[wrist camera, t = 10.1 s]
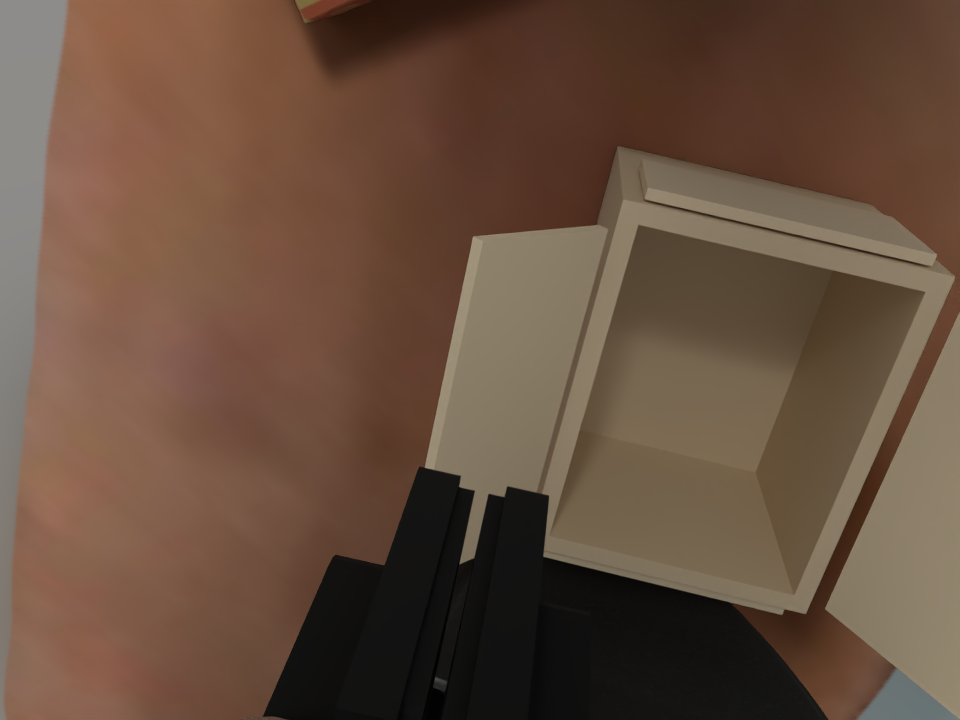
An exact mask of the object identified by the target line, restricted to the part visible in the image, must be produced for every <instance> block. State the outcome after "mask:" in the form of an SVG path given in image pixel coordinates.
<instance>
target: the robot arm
mask: <svg viewBox="0 0 960 720" xmlns="http://www.w3.org/2000/svg"><path fill="white" fill-rule="evenodd" d="M460 480H461V476H460V475H455V474H451V473H446V472H442V471H437V470H433V469H428V468H424V467H419V469H418V471H417V474H416V477H415V480H414V483H413V486H412V489H411V491H410V494H409V497H408V500H407V503H406V506H405V509H404V512H403V514H402V517H401V520H400V523H399V526H398V529H397V532H396V535H395V537H394V540H393V543H392V546H391V549H390V552H389V555H388V558H387V561H386V563H385V566H383V565H379V564H374V563H370V562H366V561H361V560H357V559H352V558H348V557H343V556H339V555H335V556H334V557H333V558H332V560H331V562H330V564H329V566H328V568H327V570H326V573H325V575H324V577H323V580H322V582H321V584H320V587H319V589H318V591H317V593H316V596H315V598H314V600H313V603H312V605H311V607H310V610H309V612H308V614H307V616H306V619H305V621H304V623H303V626H302V628H301V630H300V632H299V635H298V637H297V639H296V642H295V644H294V646H293V649H292V651H291V653H290V655H289V658H288V660H287V662H286V665H285V667H284V669H283V672H282V674H281V676H280V678H279V681H278V683H277V685H276V688H275V690H274V692H273V694H272V697H271V699H270V701H269V704H268V706H267V708H266V711H265V713H264V715H263V717H248V718H245V719H241V720H426V716H427V712H428V707H429V703H430V699H431V694H432V690H433V685H434V681H435V677H436V672H437V668H438V663H439V658H440V654H441V649H442V645H443V640H444V635H445V630H446V626H447V621H448V616H449V611H450V607H451V602H452V597H453V593H454V588H455V583H456V578H457V574H458V569H459V564H460V560H461V555H462V550H463V545H464V541H465V536H466V531H467V526H468V522H469V517H470V512H471V508H472V503H473V498H474V493H475V491H474V490H470V489H465V488H461V487H459V485H460ZM548 505H549V495H545V494H541V493H536V492H532V491H527V490H523V489H518V488H514V487H509V486H507V489H506V493H505V497H501V496H497V495H492V494H488V498H487V502H486V507H485V511H484V516H483V521H482V525H481V530H480V534H479V539H478V543H477V548H476V552H475V557H474V562H473V566H472V571H471V575H470V580H469V584H468V589H467V593H466V598H465V602H464V607H463V612H462V616H461V621H460V625H459V630H458V634H457V639H456V643H455V648H454V652H453V657H452V662H451V666H450V671H449V676H448V680H447V685H446V690H445V695H444V699H443V704H442V709H441V714H440V718H439V720H589V711H590V661H591V615H590V612H587V611H583V610H578V609H574V608H570V607H565V606H561V605H556V604H552V603H547V602H543V601H539V596H540V586H541V576H542V566H543V556H544V546H545V536H546V526H547V515H548Z"/></svg>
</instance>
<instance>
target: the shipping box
mask: <svg viewBox="0 0 960 720" xmlns="http://www.w3.org/2000/svg"><path fill="white" fill-rule="evenodd" d="M596 225H600V226H602V227H605V228H607V229H608V232H607V236H606V239H605V243H604V247H603V250H602V254H601V258H600V261H599V265H598V269H597V272H596V276H595V280H594V283H593V287H592V291H591V294H590V298H589V302H588V305H587V309H586V313H585V316H584V320H583V324H582V327H581V331H580V335H579V338H578V342H577V346H576V349H575V353H574V357H573V360H572V364H571V368H570V371H569V375H568V379H567V382H566V386H565V390H564V393H563V397H562V401H561V404H560V408H559V412H558V415H557V419H556V423H555V426H554V430H553V434H552V438H551V441H550V445H549V449H548V452H547V456H546V460H545V463H544V467H543V471H542V474H541V478H540V482H539V485H538V489H537V493H541V494H545V495H549V505H548V515H547V526H546V536H545V546H544V556H543V557H547V558H551V559H555V560H559V561H563V562H567V563H571V564H575V565H579V566H583V567H587V568H592V569H596V570H600V571H604V572H608V573H612V574H616V575H620V576H624V577H628V578H633V579H637V580H641V581H645V582H649V583H653V584H657V585H661V586H665V587H669V588H673V589H678V590H682V591H686V592H690V593H694V594H698V595H702V596H706V597H710V598H714V599H719V600H723V601H727V602H731V603H735V604H739V605H743V606H747V607H751V608H755V609H759V610H764V611H768V612H772V613H776V614H780V615H782V614H783V612H784V609H786V610H790V611H794V612H798V613H802V614H806V612H807V610H808V608H809V606H810V603H811V601H812V599H813V597H814V594H815V592H816V590H817V588H818V585H819V583H820V581H821V579H822V576H823V574H824V572H825V570H826V567H827V565H828V563H829V561H830V558H831V556H832V554H833V552H834V549H835V547H836V545H837V543H838V540H839V538H840V536H841V534H842V531H843V529H844V527H845V525H846V522H847V520H848V518H849V516H850V513H851V511H852V509H853V507H854V504H855V502H856V500H857V498H858V495H859V493H860V491H861V489H862V486H863V484H864V482H865V480H866V477H867V475H868V473H869V471H870V468H871V466H872V464H873V462H874V459H875V457H876V455H877V453H878V450H879V448H880V446H881V444H882V441H883V439H884V437H885V435H886V432H887V430H888V428H889V426H890V423H891V421H892V419H893V417H894V414H895V412H896V410H897V408H898V405H899V403H900V401H901V399H902V396H903V394H904V392H905V390H906V387H907V385H908V383H909V381H910V378H911V376H912V374H913V372H914V369H915V367H916V365H917V363H918V360H919V358H920V356H921V354H922V351H923V349H924V347H925V345H926V342H927V340H928V338H929V336H930V333H931V331H932V329H933V327H934V324H935V322H936V320H937V318H938V315H939V313H940V311H941V309H942V306H943V304H944V302H945V300H946V297H947V295H948V293H949V291H950V288H951V286H952V284H953V282H954V279H955V276H954V275H953V274H952V273H950V272H949V271H948V270H947V269H946V268H945V267H943V266H942V265H941V264H940V263H939V262H938V261H937V260H935V259H936V257H937V254H936V253H935V252H933V251H932V250H931V249H930V248H929V247H928V246H926V245H925V244H924V243H923V242H922V241H920V240H919V239H918V238H917V237H916V236H914V235H913V234H912V233H911V232H910V231H909V230H907V229H906V228H905V227H904V226H903V225H901V224H900V223H899V222H898V221H897V220H895V219H894V218H893V217H891V216H887V215H883V214H882V213H881V212H880V211H878V210H877V209H876V208H875V207H874V206H873V205H872V204H867V203H863V202H859V201H855V200H850V199H846V198H842V197H837V196H833V195H829V194H824V193H820V192H816V191H811V190H807V189H803V188H798V187H794V186H790V185H785V184H781V183H777V182H772V181H768V180H764V179H760V178H755V177H751V176H747V175H742V174H738V173H734V172H729V171H725V170H721V169H716V168H712V167H708V166H703V165H699V164H695V163H690V162H686V161H682V160H677V159H673V158H669V157H665V156H660V155H656V154H652V153H647V152H643V151H639V150H634V149H630V148H626V147H621V146H617V149H616V153H615V157H614V160H613V164H612V168H611V172H610V175H609V179H608V183H607V187H606V190H605V194H604V198H603V202H602V205H601V209H600V213H599V217H598V220H597V224H596Z"/></svg>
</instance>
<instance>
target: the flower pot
mask: <svg viewBox="0 0 960 720" xmlns="http://www.w3.org/2000/svg"><path fill="white" fill-rule="evenodd" d="M473 562H474V558H473V559H471V560H468V561H466V562H464V563H461V564H459V569H458V574H457V578H456V583H455V588H454V593H453V597H452V602H451V607H450V611H449V616H448V621H447V626H446V630H445V635H444V640H443V645H442V649H441V654H440V658H439V663H438V668H437V672H436V677H435V681H434V685H433V690H432V694H431V699H430V703H429V707H428V712H427V716H426V720H439V718H440V714H441V709H442V704H443V699H444V695H445V690H446V685H447V680H448V676H449V671H450V666H451V662H452V657H453V652H454V648H455V643H456V639H457V634H458V630H459V625H460V621H461V616H462V612H463V607H464V602H465V598H466V593H467V589H468V584H469V580H470V575H471V571H472V566H473ZM539 601H543V602H547V603H552V604H556V605H561V606H565V607H570V608H574V609H578V610H583V611H587V612H590V615H591V661H590V711H589V720H828V718H827V717H826V716H825V714H824V713H823V711H822V710H821V708H820V707H819V706H818V704H817V703H816V702H815V700H814V699H813V697H812V696H811V695H810V693H809V692H808V691H807V689H806V688H805V687H804V685H803V684H802V683H801V682H800V680H799V679H798V678H797V677H796V675H795V674H794V673H793V672H792V670H791V669H790V668H789V666H788V665H787V664H786V663H785V661H784V660H783V659H782V658H781V657H780V656H779V654H778V653H777V652H776V651H775V650H774V649H773V648H772V646H771V645H770V644H769V643H768V642H767V641H766V640H765V639H764V637H763V636H762V635H761V634H760V633H759V632H758V631H757V630H756V629H755V628H754V627H753V626H752V625H751V624H750V622H749V621H748V620H747V619H746V618H745V617H744V616H743V615H742V614H741V613H740V612H739V611H738V610H737V609H736V608H735V607H734V606H733V605H732V604H731V603H730V602H727V601H723V600H719V599H714V598H710V597H706V596H702V595H698V594H694V593H690V592H686V591H682V590H678V589H673V588H669V587H665V586H661V585H657V584H653V583H649V582H645V581H641V580H637V579H633V578H628V577H624V576H620V575H616V574H612V573H608V572H604V571H600V570H596V569H592V568H587V567H583V566H579V565H575V564H571V563H567V562H563V561H559V560H555V559H551V558H547V557H543V566H542V576H541V586H540V596H539Z"/></svg>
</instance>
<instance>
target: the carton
mask: <svg viewBox="0 0 960 720" xmlns="http://www.w3.org/2000/svg"><path fill="white" fill-rule="evenodd" d="M370 1H373V0H294V2H295V4H296V6H297V9H298V11H299V13H300V16H301V18H302V21H303V22H304V23H307V24H309V23H312V22H315V21H320V20H322V19H326V18H330V17H333V16H336V15H339V14H342V13H344V12H347V11H349V10H351V9H354V8H356V7H359V6H361V5H363V4H366V3H368V2H370Z"/></svg>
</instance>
